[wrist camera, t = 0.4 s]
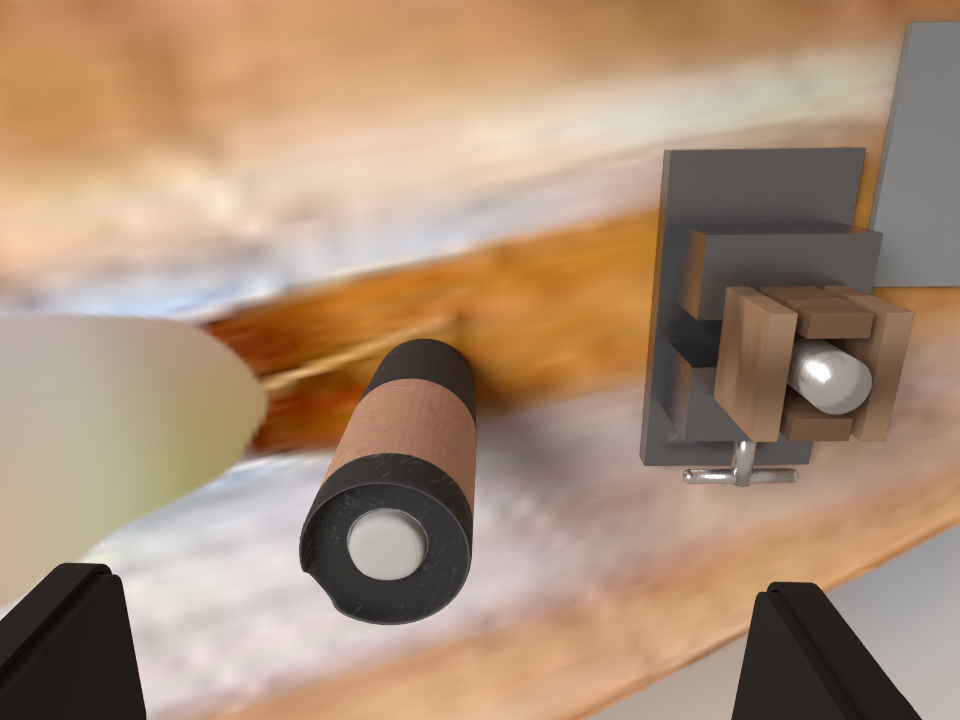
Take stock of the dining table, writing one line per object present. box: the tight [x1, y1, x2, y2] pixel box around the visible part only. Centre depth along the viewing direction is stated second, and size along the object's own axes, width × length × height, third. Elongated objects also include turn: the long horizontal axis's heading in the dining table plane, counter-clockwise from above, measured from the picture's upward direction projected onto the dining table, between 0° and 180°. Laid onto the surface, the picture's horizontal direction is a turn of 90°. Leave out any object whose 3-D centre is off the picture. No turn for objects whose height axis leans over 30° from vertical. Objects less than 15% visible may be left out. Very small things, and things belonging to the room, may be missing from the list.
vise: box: [640, 147, 884, 487], centre depth 37 cm, size 22×12×14 cm, turn 1°
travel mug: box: [299, 339, 477, 625], centre depth 36 cm, size 8×8×20 cm
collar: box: [713, 285, 914, 442], centre depth 35 cm, size 7×7×6 cm
